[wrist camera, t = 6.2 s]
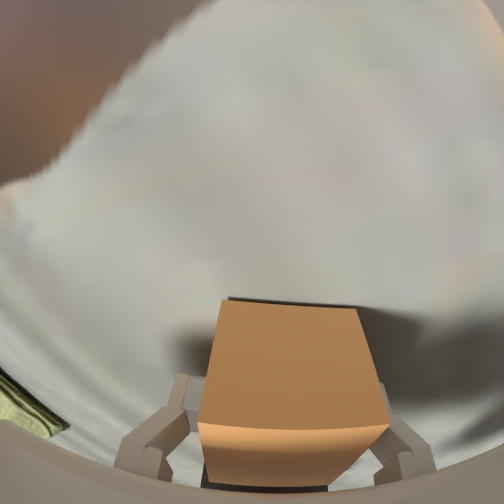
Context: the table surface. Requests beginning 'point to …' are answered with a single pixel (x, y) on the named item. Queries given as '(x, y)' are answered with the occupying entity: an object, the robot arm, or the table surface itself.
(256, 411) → the peach rectangular block
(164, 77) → the table surface
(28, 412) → the washcloth
